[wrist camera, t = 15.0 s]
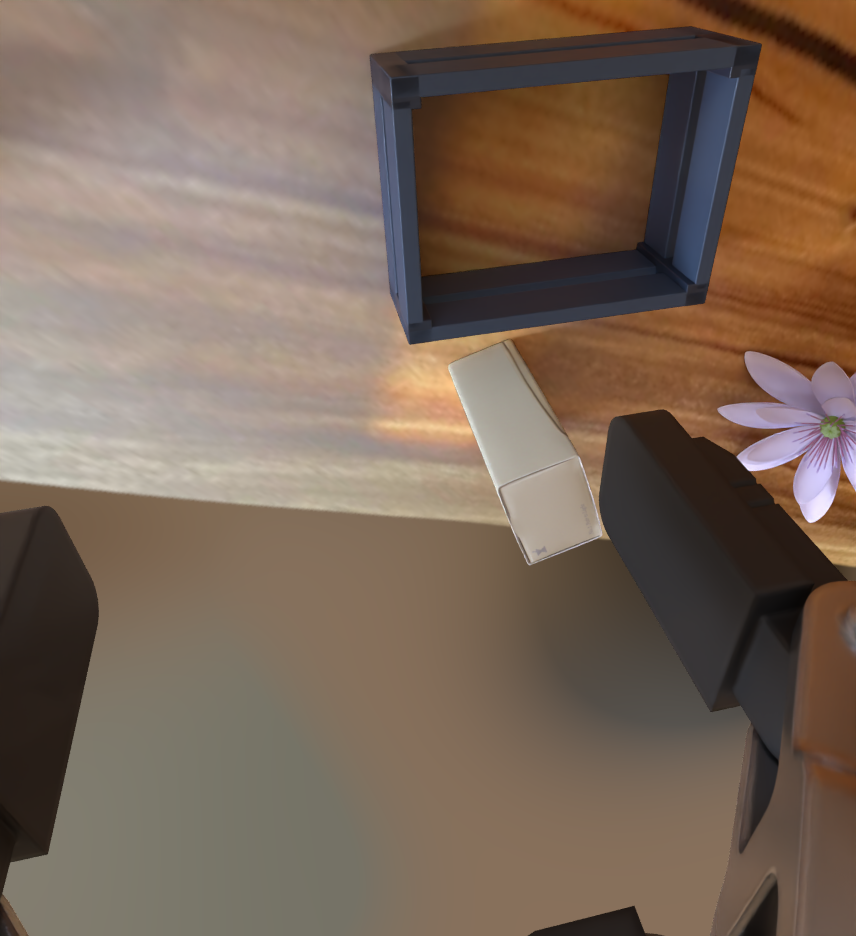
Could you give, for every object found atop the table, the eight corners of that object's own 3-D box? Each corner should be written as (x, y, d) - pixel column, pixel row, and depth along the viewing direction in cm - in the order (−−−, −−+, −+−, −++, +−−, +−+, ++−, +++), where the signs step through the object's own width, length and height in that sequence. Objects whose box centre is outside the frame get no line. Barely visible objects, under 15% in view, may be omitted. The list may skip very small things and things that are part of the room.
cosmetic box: (534, 411, 46) (607, 538, 36) (472, 437, 46) (528, 570, 37) (509, 333, 42) (584, 453, 32) (441, 362, 42) (495, 490, 33)
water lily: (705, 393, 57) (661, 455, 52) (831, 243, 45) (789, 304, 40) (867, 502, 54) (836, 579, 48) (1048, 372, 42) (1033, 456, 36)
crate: (390, 294, 38) (409, 345, 34) (369, 53, 31) (389, 77, 27) (653, 259, 40) (704, 303, 36) (691, 26, 33) (762, 43, 29)
